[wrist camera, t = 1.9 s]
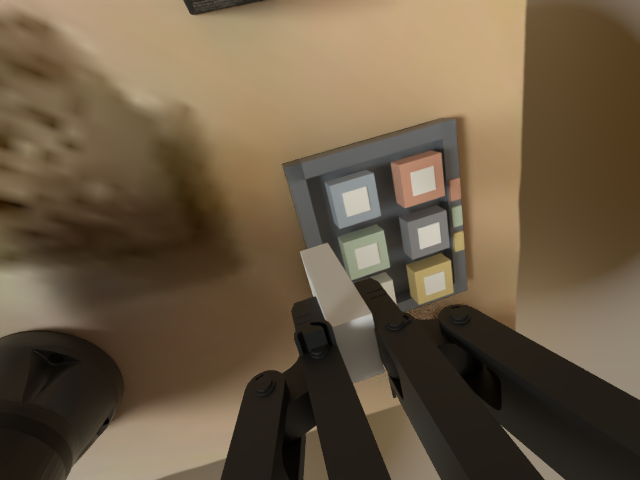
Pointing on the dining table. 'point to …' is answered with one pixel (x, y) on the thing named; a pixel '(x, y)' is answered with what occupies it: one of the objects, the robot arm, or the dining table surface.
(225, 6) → the box
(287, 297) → the dining table surface
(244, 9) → the dining table surface
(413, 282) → the key ochre
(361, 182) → the key slate
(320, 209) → the keypad board
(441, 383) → the robot arm
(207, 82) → the dining table surface
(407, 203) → the key terracotta
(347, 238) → the key sage
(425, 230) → the key charcoal
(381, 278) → the key cream
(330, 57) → the dining table surface
